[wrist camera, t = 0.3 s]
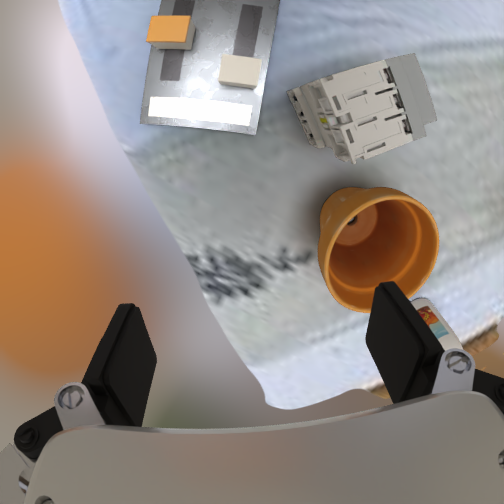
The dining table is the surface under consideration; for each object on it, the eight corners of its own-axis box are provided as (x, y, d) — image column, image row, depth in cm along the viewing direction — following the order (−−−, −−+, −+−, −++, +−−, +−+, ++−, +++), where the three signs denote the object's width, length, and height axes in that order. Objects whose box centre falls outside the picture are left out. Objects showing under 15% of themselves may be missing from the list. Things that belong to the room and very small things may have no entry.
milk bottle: (433, 292, 48) (490, 365, 30) (427, 322, 52) (474, 394, 34) (399, 302, 49) (452, 384, 31) (395, 333, 52) (438, 412, 34)
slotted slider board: (174, -26, 24) (170, -34, 22) (282, -17, 26) (284, -25, 23) (145, 122, 34) (139, 123, 32) (254, 133, 35) (255, 135, 33)
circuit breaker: (399, 110, 34) (470, 120, 21) (309, 144, 36) (351, 165, 23) (381, 61, 31) (447, 47, 18) (286, 91, 33) (316, 79, 20)
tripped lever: (161, 26, 26) (151, 15, 22) (195, 27, 26) (190, 15, 22) (157, 49, 27) (146, 41, 23) (191, 50, 28) (184, 41, 24)
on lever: (224, 60, 29) (222, 53, 25) (259, 65, 29) (261, 59, 25) (220, 84, 30) (217, 80, 26) (255, 88, 30) (257, 85, 27)
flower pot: (368, 270, 45) (403, 321, 34) (286, 248, 43) (303, 302, 31) (405, 188, 39) (457, 220, 28) (321, 153, 37) (358, 175, 25)
